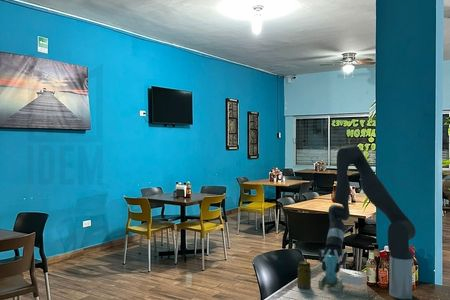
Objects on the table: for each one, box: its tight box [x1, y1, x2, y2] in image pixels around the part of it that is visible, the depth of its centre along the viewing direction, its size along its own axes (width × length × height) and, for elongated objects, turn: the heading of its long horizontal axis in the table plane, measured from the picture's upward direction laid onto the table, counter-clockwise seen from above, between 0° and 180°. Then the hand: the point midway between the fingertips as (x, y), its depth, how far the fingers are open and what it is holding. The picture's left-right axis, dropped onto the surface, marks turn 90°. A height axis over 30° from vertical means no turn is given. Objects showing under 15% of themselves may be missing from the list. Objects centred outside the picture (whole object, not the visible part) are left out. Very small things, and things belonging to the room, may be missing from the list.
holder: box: [317, 274, 344, 292], centre depth 187 cm, size 10×10×4 cm
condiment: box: [297, 260, 312, 290], centre depth 185 cm, size 7×8×12 cm
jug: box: [324, 254, 338, 283], centre depth 186 cm, size 5×7×12 cm
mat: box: [338, 274, 364, 286], centre depth 196 cm, size 11×11×1 cm
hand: (330, 271), depth 185 cm, fingers closed on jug, 5 cm apart
